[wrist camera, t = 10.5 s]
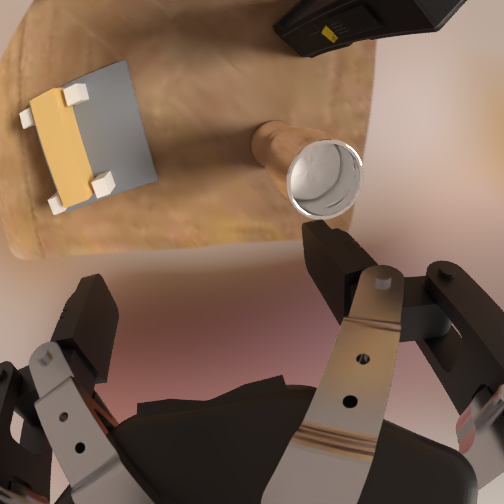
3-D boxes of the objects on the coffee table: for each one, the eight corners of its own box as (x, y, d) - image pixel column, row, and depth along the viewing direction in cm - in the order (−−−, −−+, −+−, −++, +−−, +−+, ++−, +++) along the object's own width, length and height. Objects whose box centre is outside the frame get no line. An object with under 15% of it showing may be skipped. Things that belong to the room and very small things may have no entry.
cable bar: (45, 98, 25) (29, 101, 21) (67, 87, 25) (53, 88, 22) (76, 196, 32) (64, 208, 28) (98, 187, 32) (88, 199, 28)
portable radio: (301, 67, 30) (472, 59, 9) (263, 34, 27) (398, -43, 6) (340, 28, 28) (512, 2, 7) (305, -4, 25) (456, -78, 4)
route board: (32, 103, 25) (16, 106, 22) (127, 60, 26) (119, 56, 23) (67, 209, 33) (56, 222, 30) (158, 178, 34) (155, 188, 31)
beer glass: (295, 176, 37) (351, 227, 24) (241, 167, 35) (274, 216, 23) (308, 124, 34) (376, 149, 21) (253, 111, 32) (296, 126, 19)
